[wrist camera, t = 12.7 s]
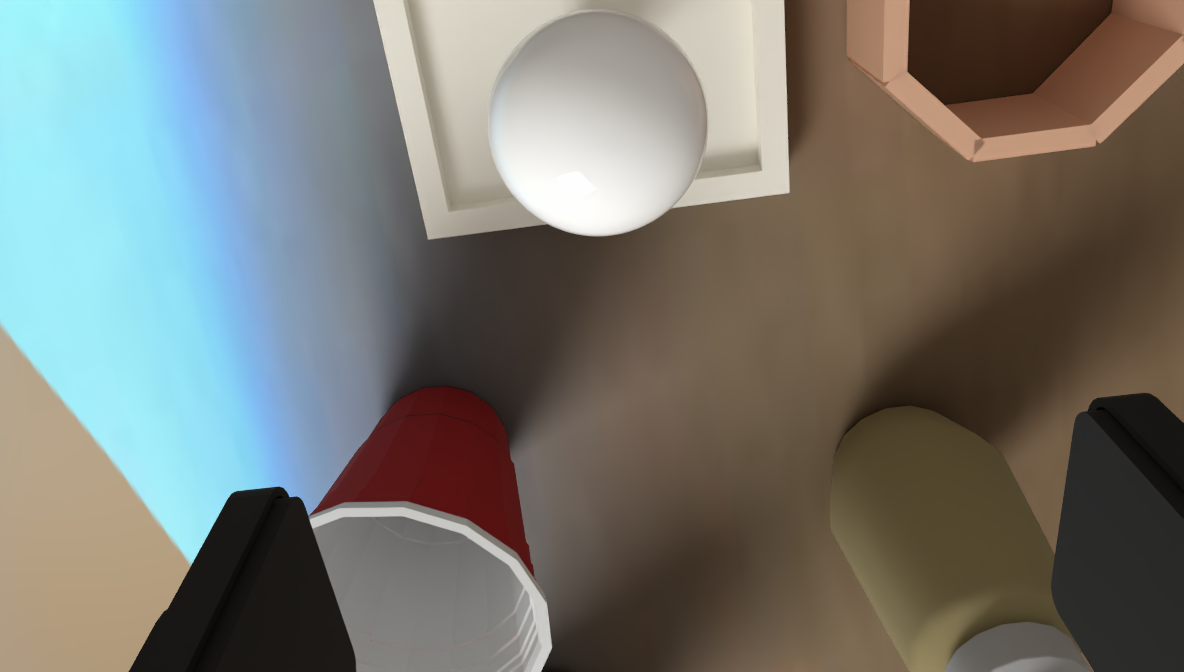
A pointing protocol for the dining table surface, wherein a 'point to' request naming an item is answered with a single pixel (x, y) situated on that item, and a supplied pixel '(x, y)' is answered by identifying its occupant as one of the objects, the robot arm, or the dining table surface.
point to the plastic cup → (434, 544)
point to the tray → (507, 15)
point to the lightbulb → (598, 122)
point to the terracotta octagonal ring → (1058, 106)
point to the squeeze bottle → (947, 547)
